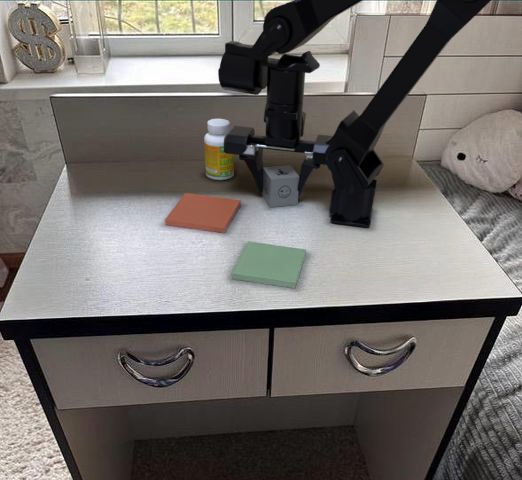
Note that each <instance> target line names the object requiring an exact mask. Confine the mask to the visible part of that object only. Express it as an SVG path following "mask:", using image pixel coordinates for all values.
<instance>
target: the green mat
mask: <svg viewBox="0 0 522 480" xmlns="http://www.w3.org/2000/svg"><path fill="white" fill-rule="evenodd" d="M306 256H307V249H305V248H299V247H291V246H283V245H277V244H270V243H263V242H256V241H249V240H247V242H246V244H245V246H244V249H243V250H242V253H240V256H239V258H238V260H237V262H236V264H235V267H234V268H233V270H232V273H231V280H232V279H233V280H237V281H238V280H239V281H243V282H244V281H245V282H250V283H257V284H264V285H271V286H275V287H276V286H277V287H282V288H283V287H284V288H290V289H296V287H297V284H298V282H299V281H298V280H299V278H300V274H301V271H302V268H303V265H304V262H305V259H306Z"/></svg>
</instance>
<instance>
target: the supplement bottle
mask: <svg viewBox="0 0 522 480" xmlns="http://www.w3.org/2000/svg"><path fill="white" fill-rule="evenodd" d="M206 125H207V126H206V127H207V131H208V132H207V133H206V134H205V135H204V139H203V140H204V141H203V143H204V144H203V145H204V160H205V161H204V163H205V175H206V177H207V178H209V179H210V180H214V181H227V180H230V179H232V178H233V177H234V175H235V154H226V153H225V152H224V137H225V136H226V135H227V133H228V132H229V131H230V130H231V122H230V121H229V120H227V119H225V118H211V119H209V120H208V121H207V124H206Z"/></svg>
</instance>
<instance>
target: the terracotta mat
mask: <svg viewBox="0 0 522 480" xmlns="http://www.w3.org/2000/svg"><path fill="white" fill-rule="evenodd" d="M241 206H242V200H241V199H234V198H226V197H220V196H213V195H211V196H210V195H204V194H195V193H189V192H188V193H187V192H185V193H184V194H183V195H182V197H181V198H180V199H179V200H178V202H177V203H176V205H175V206H174V207H173V208H172V210H170V212H169V213H168V215H167V216H166V217H165V219H164V224H165V226H171V227H178V228H185V229H192V230H193V229H194V230H200V231H207V232H213V233H222V234H226V232H227V231H228V229H229V227H230V226H231V223H232V221H233V220H234V218H235V216H236V215H237V213H238V211H239V209H240V208H241Z"/></svg>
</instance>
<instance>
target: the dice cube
mask: <svg viewBox="0 0 522 480" xmlns="http://www.w3.org/2000/svg"><path fill="white" fill-rule="evenodd" d="M299 177H300V174H298V173H297V172H296V170H295V169H294V168H293V166H292V165H291V164H288V165H275V166H263V192H262V193H261V195H262V197H263V199H264V201H265V202H266V203H267V205H268V207H269V208H279V207H288V206H297V205H298V204H299V203H298V202H299V198H298V191H297V188H298V182H299Z"/></svg>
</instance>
